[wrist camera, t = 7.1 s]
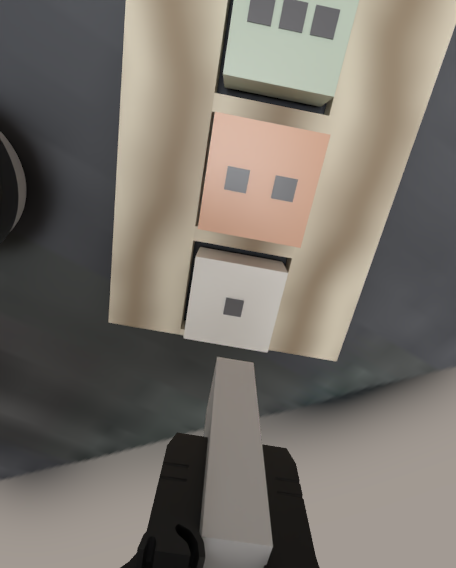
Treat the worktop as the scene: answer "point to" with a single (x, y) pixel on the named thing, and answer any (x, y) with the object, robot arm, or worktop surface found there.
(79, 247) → the worktop surface
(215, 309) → the tile one
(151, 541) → the robot arm
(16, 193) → the pump dispenser
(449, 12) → the board
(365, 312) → the worktop surface
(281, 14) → the tile three
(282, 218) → the tile two
